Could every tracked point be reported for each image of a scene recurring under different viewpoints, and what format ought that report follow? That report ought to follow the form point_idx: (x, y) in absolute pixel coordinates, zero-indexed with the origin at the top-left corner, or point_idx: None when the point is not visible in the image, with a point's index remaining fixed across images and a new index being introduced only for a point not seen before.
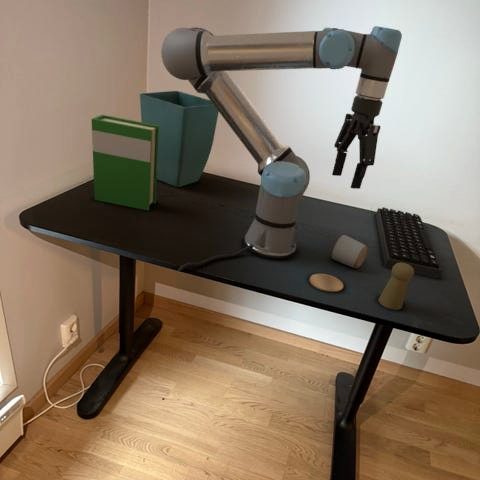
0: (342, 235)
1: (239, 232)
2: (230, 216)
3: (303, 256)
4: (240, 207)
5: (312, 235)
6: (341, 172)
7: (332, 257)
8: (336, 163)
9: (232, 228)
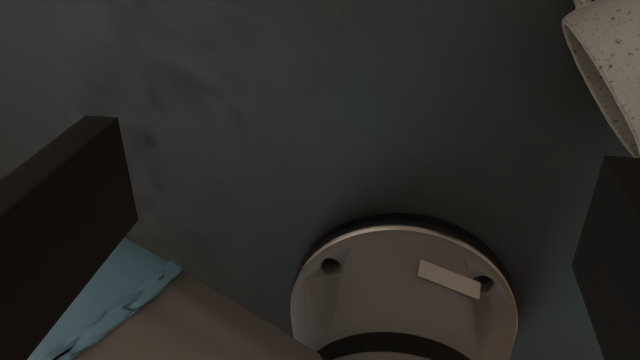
0: (636, 128)
1: None
2: None
3: (507, 209)
4: None
5: (283, 36)
6: (95, 144)
7: (616, 120)
8: (54, 323)
9: None
